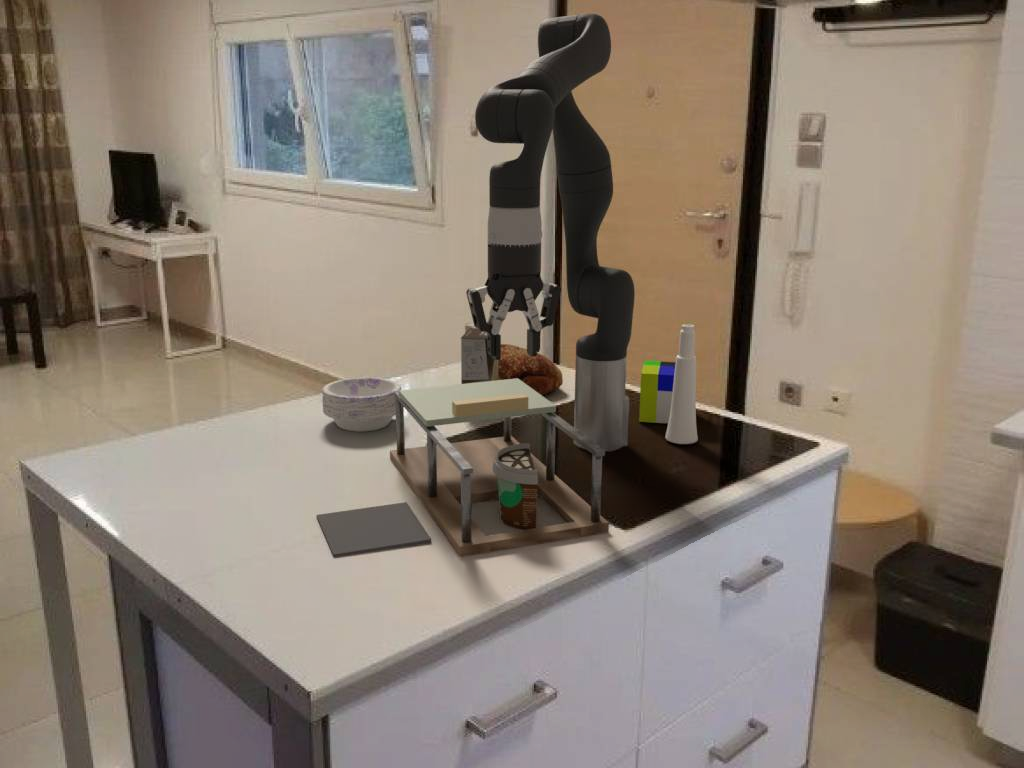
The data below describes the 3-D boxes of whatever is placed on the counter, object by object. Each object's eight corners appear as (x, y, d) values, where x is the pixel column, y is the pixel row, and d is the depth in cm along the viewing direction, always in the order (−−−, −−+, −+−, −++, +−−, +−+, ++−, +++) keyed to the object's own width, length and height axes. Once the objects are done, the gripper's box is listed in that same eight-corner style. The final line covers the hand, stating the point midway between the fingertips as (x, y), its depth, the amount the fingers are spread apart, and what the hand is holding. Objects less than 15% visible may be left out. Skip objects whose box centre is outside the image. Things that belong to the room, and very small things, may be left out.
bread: (466, 379, 217) (465, 337, 214) (540, 372, 223) (540, 331, 220) (494, 405, 198) (494, 359, 195) (574, 397, 204) (575, 352, 201)
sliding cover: (517, 383, 167) (517, 367, 166) (556, 411, 151) (556, 394, 151) (398, 395, 159) (398, 378, 158) (426, 426, 144) (425, 408, 143)
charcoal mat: (406, 505, 148) (406, 502, 147) (431, 542, 135) (431, 539, 135) (316, 518, 143) (316, 514, 143) (333, 558, 130) (333, 554, 130)
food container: (490, 502, 149) (489, 442, 146) (528, 501, 150) (529, 441, 147) (495, 536, 137) (495, 472, 134) (537, 535, 138) (538, 471, 135)
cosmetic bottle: (704, 440, 177) (712, 326, 171) (681, 446, 174) (688, 330, 168) (681, 431, 182) (688, 320, 176) (658, 437, 179) (664, 324, 172)
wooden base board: (511, 443, 175) (511, 435, 175) (608, 531, 139) (608, 522, 138) (390, 458, 167) (389, 450, 167) (459, 556, 131) (459, 546, 130)
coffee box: (492, 416, 191) (492, 338, 186) (460, 414, 191) (460, 337, 187) (498, 402, 199) (499, 328, 195) (469, 401, 200) (468, 327, 196)
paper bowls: (383, 408, 195) (382, 371, 193) (415, 429, 183) (414, 390, 180) (312, 420, 187) (310, 382, 185) (340, 443, 175) (338, 402, 173)
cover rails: (509, 437, 173) (509, 379, 170) (602, 522, 139) (605, 450, 135) (395, 451, 166) (393, 391, 163) (464, 544, 131) (463, 469, 128)
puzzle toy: (689, 425, 186) (692, 376, 183) (639, 421, 188) (641, 373, 185) (690, 409, 195) (693, 363, 193) (642, 406, 197) (644, 360, 195)
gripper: (551, 233, 137) (549, 347, 142) (457, 237, 132) (458, 355, 137) (572, 240, 130) (569, 359, 135) (474, 245, 126) (475, 368, 130)
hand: (513, 356), depth 136 cm, fingers open, 5 cm apart
